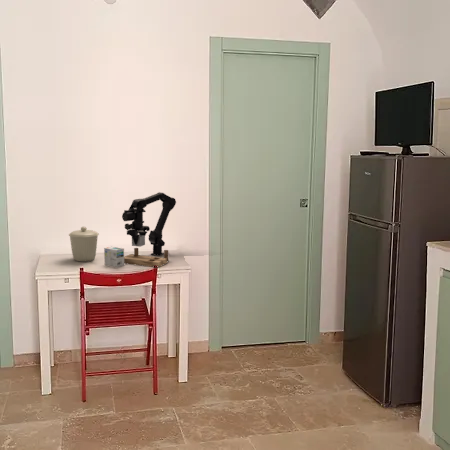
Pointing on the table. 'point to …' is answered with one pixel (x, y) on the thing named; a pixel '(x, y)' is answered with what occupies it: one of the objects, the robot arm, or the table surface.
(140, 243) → the grey cube
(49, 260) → the table surface
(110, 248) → the light bulb box
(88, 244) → the canister
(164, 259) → the board
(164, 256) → the pin
